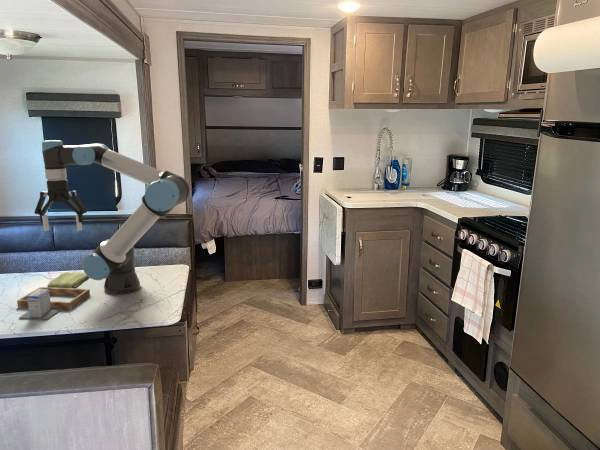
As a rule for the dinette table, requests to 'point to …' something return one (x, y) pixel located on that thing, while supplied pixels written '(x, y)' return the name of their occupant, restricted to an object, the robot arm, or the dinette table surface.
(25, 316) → the mat
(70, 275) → the washcloth
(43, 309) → the medicine box
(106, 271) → the robot arm
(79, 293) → the wooden frame
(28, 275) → the dinette table surface
